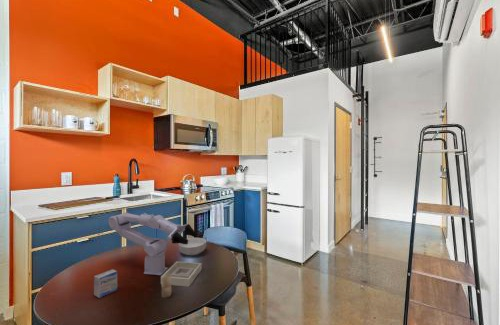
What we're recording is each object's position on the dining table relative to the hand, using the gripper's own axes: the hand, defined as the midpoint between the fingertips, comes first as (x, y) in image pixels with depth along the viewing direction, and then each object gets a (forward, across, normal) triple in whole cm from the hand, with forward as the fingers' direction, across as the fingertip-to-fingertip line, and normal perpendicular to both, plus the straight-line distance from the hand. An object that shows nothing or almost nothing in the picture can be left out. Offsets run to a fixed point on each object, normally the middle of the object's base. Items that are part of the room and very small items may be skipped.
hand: (192, 238), depth 119 cm
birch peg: (+3, -19, +17) cm, 26 cm away
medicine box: (-22, -28, +23) cm, 42 cm away
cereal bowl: (-11, +23, +28) cm, 38 cm away
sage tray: (0, -3, +20) cm, 21 cm away
